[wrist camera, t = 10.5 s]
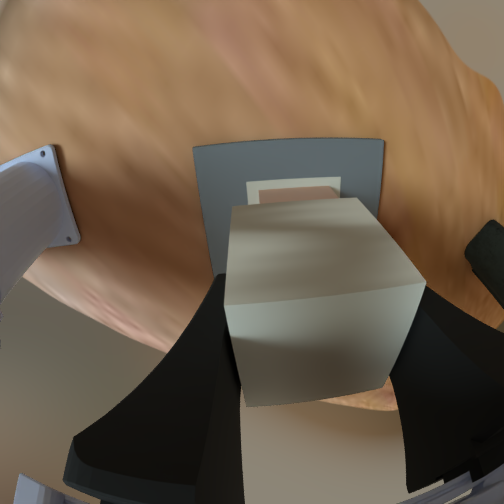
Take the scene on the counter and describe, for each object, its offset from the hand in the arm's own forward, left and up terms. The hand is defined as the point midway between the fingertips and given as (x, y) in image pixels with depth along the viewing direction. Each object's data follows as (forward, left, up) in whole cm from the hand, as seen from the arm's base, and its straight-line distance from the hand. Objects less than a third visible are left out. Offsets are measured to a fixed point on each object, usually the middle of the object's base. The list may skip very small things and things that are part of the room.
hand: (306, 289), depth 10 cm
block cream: (0, 0, -2) cm, 2 cm away
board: (+1, -2, -10) cm, 10 cm away
